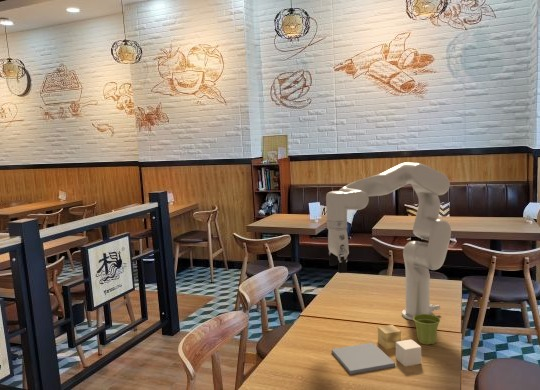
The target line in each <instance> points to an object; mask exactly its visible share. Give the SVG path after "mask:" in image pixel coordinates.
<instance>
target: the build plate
mask: <svg viewBox="0 0 540 390" xmlns="http://www.w3.org/2000/svg"><path fill="white" fill-rule="evenodd" d="M331 353H332V355H334V357H335V358H336V359H337V361H339V362H340V364H341V365H342V366H343V368H344V369H345V370H346V371H347V372H348V373H349V375H354V374H359V373H360V374H361V373H367V372H373V371H378V370H382V369H389V368H395V367H396V362H395V361H394V360H393V359H391V358H390V356H388V355H387V354H386V353H385V352H384V351H383V350H382V349H381V348H380V347H379V346H378V345H376V344H375V342H369V343H361V344H355V345H351V346H350V345H349V346H343V347H336V348H332V349H331Z"/></svg>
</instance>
